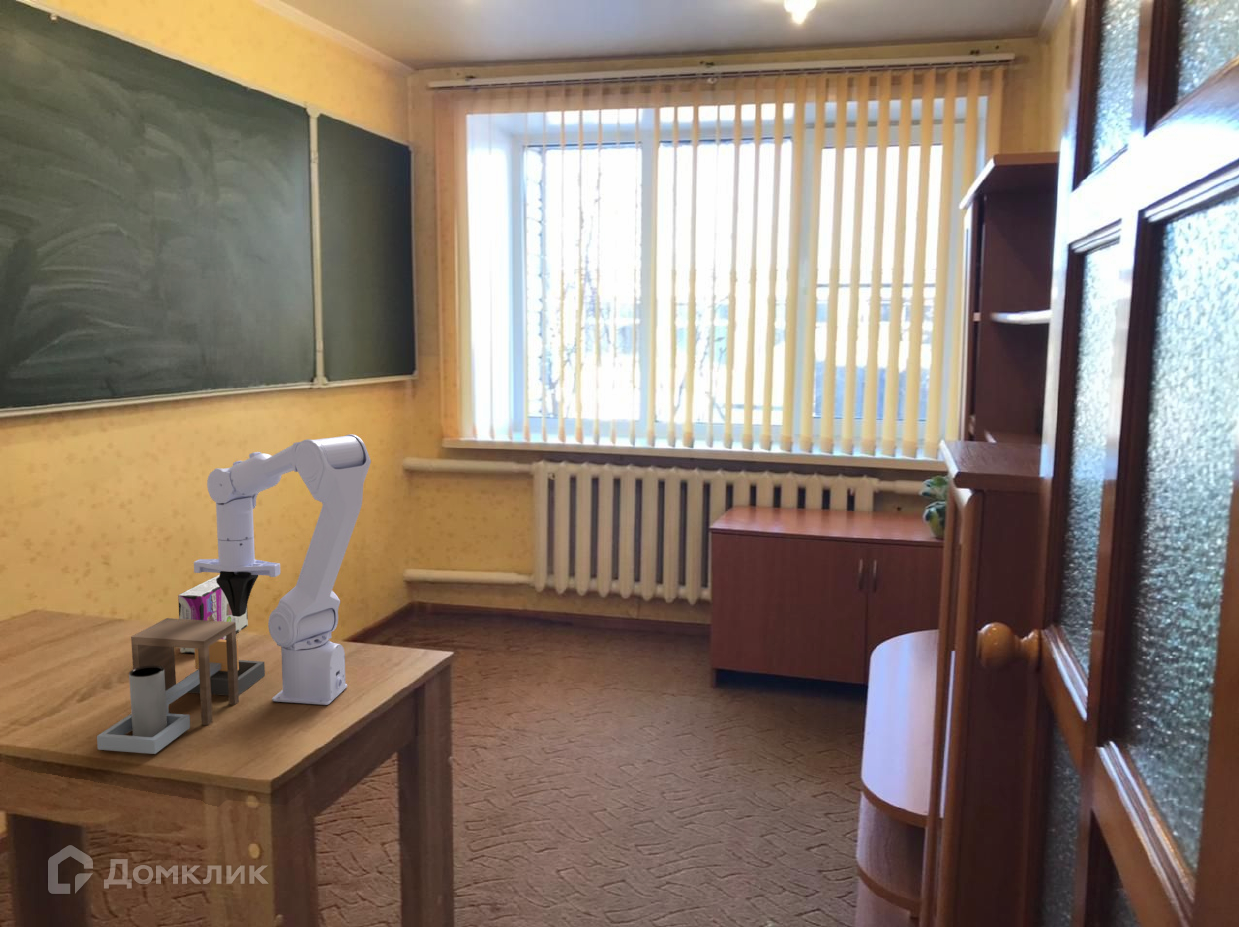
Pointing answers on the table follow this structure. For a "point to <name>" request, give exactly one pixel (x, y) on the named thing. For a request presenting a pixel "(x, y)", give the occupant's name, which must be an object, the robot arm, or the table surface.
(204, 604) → the candy bar box
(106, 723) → the table surface
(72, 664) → the table surface
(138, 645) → the tunnel
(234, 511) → the robot arm
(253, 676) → the box
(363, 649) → the table surface
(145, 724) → the gray cylinder
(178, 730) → the slider
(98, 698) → the table surface
